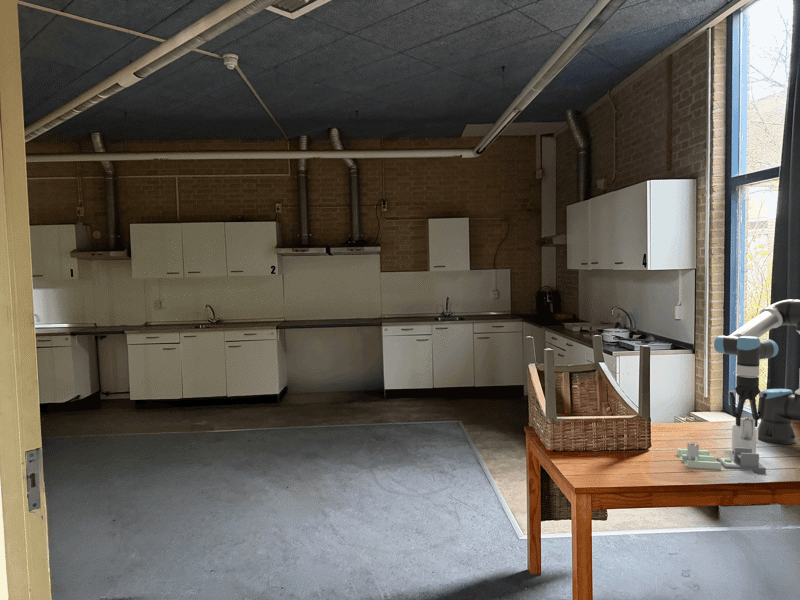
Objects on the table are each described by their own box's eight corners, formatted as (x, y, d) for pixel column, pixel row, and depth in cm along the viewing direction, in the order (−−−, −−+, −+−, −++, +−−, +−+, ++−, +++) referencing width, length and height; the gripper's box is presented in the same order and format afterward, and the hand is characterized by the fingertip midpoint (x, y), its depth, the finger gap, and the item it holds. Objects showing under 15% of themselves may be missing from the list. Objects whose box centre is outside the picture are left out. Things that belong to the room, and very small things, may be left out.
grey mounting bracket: (754, 464, 219) (755, 447, 218) (765, 473, 209) (766, 455, 208) (716, 462, 222) (716, 445, 221) (725, 471, 212) (725, 453, 212)
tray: (708, 458, 225) (708, 450, 225) (721, 472, 211) (721, 463, 211) (677, 457, 228) (677, 448, 228) (687, 470, 214) (687, 461, 213)
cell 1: (696, 462, 218) (696, 441, 218) (699, 466, 214) (700, 444, 214) (685, 462, 219) (686, 441, 219) (688, 465, 215) (689, 444, 215)
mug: (745, 458, 226) (745, 431, 225) (726, 451, 234) (727, 426, 233) (766, 454, 229) (767, 428, 229) (747, 448, 238) (747, 423, 237)
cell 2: (749, 437, 215) (750, 416, 215) (753, 440, 212) (754, 419, 211) (738, 437, 216) (739, 415, 216) (742, 440, 212) (743, 418, 212)
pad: (750, 456, 216) (750, 454, 216) (755, 460, 212) (755, 458, 212) (737, 455, 217) (737, 453, 217) (741, 459, 213) (741, 457, 213)
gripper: (767, 374, 214) (765, 432, 216) (720, 373, 218) (719, 430, 219) (775, 378, 207) (774, 438, 208) (727, 377, 211) (726, 436, 212)
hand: (746, 434), depth 214 cm, fingers closed on cell 2, 3 cm apart
